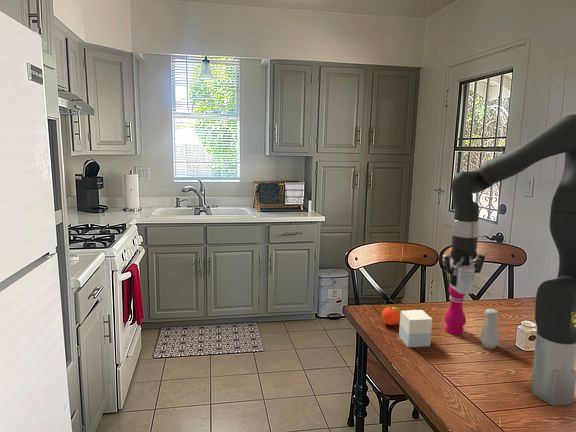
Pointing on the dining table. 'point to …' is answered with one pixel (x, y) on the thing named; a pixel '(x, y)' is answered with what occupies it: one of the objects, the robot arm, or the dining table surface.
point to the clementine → (391, 315)
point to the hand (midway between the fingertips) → (461, 285)
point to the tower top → (416, 321)
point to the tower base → (414, 338)
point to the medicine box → (464, 279)
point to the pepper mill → (455, 313)
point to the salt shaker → (490, 329)
